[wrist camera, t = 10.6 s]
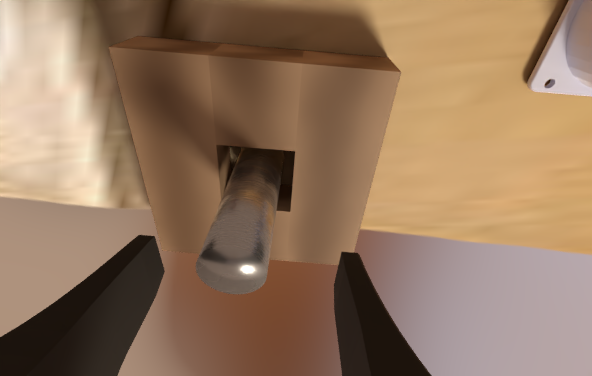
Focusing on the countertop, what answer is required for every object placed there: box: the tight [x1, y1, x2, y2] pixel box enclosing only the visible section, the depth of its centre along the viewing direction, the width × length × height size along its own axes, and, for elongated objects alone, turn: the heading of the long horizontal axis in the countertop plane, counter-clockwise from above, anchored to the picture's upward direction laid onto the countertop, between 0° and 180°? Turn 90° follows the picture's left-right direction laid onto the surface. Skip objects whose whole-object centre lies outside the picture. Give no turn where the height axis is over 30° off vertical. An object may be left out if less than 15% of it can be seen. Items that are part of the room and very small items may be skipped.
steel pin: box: [196, 147, 284, 294], centre depth 17 cm, size 3×3×10 cm
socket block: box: [109, 36, 401, 265], centre depth 20 cm, size 14×14×3 cm
